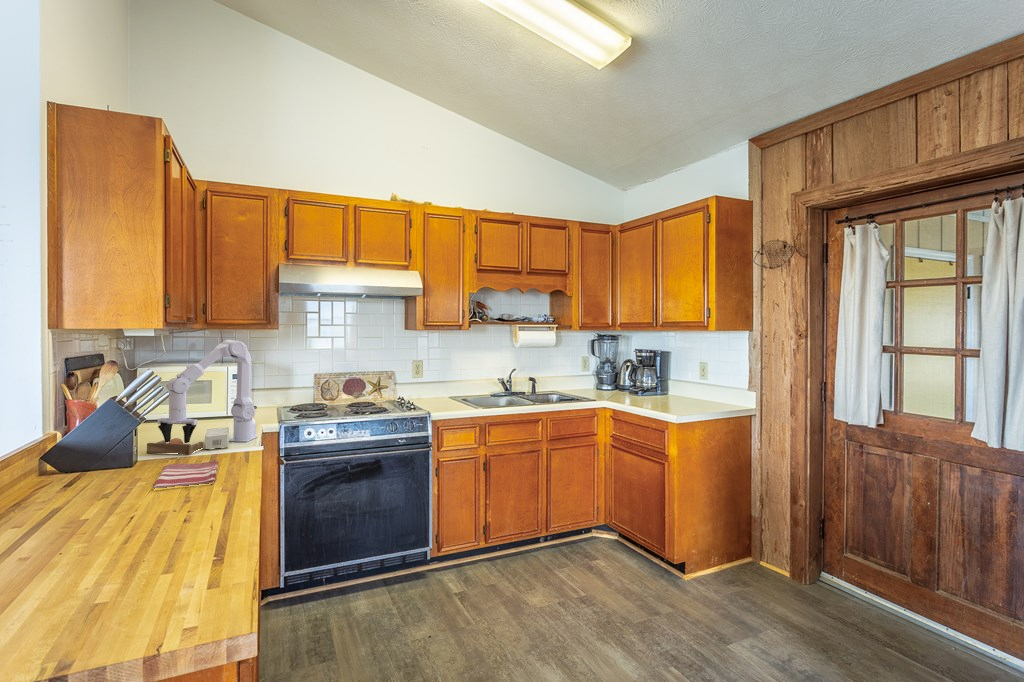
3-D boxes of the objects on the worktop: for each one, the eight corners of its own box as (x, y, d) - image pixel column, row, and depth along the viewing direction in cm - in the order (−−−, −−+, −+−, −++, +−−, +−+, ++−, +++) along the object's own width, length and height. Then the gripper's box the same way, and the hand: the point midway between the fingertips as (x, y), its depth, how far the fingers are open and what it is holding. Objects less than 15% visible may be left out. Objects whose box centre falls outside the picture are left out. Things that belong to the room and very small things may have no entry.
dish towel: (219, 466, 183) (219, 459, 183) (214, 486, 162) (214, 478, 162) (163, 471, 175) (163, 464, 175) (151, 493, 154) (151, 484, 154)
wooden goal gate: (163, 447, 203) (163, 437, 203) (204, 449, 203) (204, 439, 203) (146, 453, 194) (146, 443, 193) (189, 455, 194) (189, 444, 193)
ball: (175, 450, 202) (172, 438, 201) (187, 447, 202) (184, 435, 201) (166, 453, 197) (163, 441, 196) (179, 450, 197) (176, 438, 196)
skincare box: (204, 436, 201) (206, 428, 213) (205, 451, 201) (206, 442, 214) (229, 434, 205) (228, 426, 218) (229, 448, 205) (228, 439, 218)
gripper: (152, 409, 194) (151, 444, 195) (189, 410, 194) (189, 445, 195) (164, 406, 201) (164, 439, 202) (200, 407, 201) (200, 441, 202)
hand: (177, 442), depth 199 cm, fingers open, 7 cm apart
